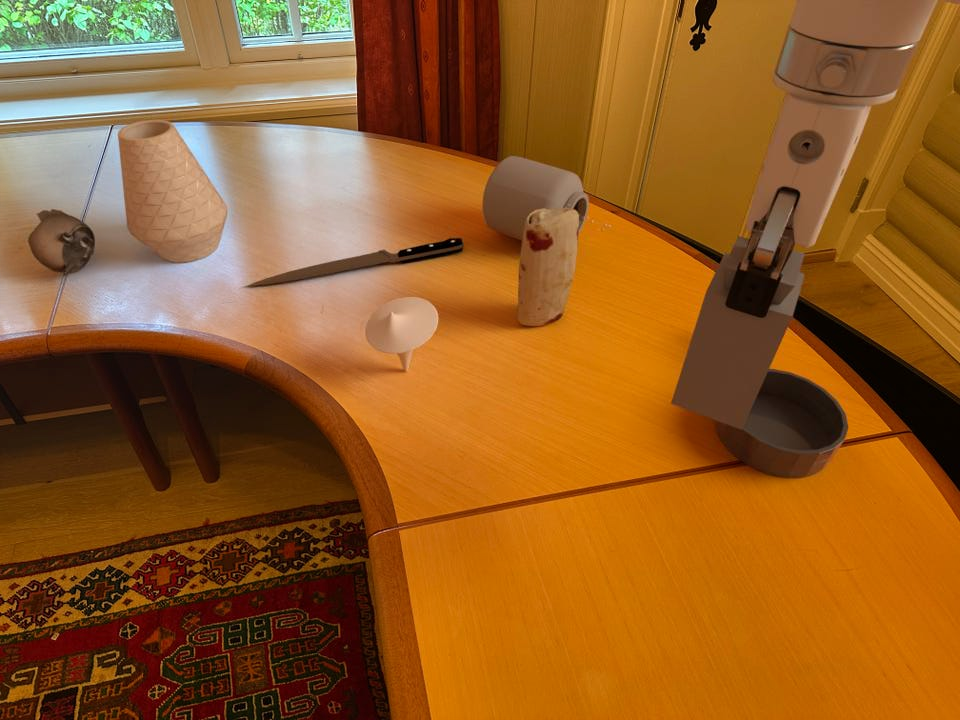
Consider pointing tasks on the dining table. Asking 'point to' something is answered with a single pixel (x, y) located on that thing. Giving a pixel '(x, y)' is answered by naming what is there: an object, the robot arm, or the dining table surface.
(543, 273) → the food model
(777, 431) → the pan
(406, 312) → the white spinning top
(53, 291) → the dining table surface
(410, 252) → the steak knife
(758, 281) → the robot arm
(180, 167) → the vase
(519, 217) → the jar
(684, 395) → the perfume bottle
